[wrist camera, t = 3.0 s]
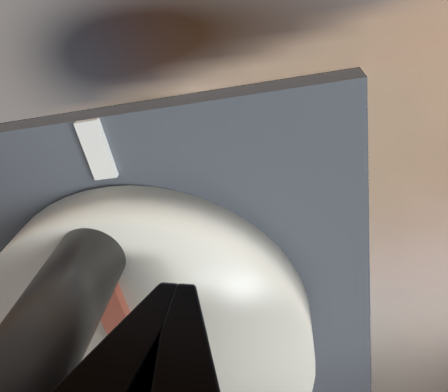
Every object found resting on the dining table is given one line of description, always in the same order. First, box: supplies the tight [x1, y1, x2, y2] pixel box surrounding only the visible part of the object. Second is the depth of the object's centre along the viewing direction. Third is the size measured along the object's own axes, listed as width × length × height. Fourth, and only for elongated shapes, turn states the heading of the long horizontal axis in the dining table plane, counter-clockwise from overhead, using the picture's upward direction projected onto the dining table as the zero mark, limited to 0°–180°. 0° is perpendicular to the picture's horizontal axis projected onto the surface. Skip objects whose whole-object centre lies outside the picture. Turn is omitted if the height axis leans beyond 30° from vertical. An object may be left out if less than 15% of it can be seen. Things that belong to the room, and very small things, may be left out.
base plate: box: [0, 67, 371, 392], centre depth 16 cm, size 16×15×1 cm
